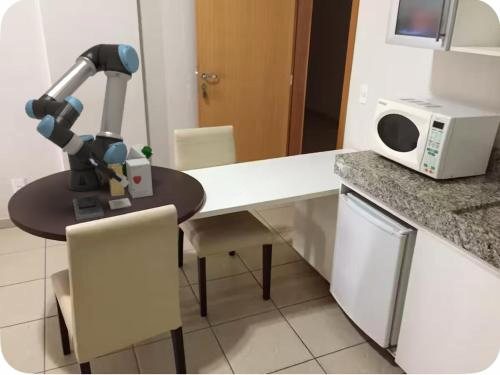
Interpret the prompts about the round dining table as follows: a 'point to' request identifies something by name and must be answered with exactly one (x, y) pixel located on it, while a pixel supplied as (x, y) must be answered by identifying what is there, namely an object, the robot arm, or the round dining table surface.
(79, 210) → the grey metal slotted plate
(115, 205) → the mat
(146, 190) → the supplement box
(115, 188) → the gold metal column
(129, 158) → the milk carton
